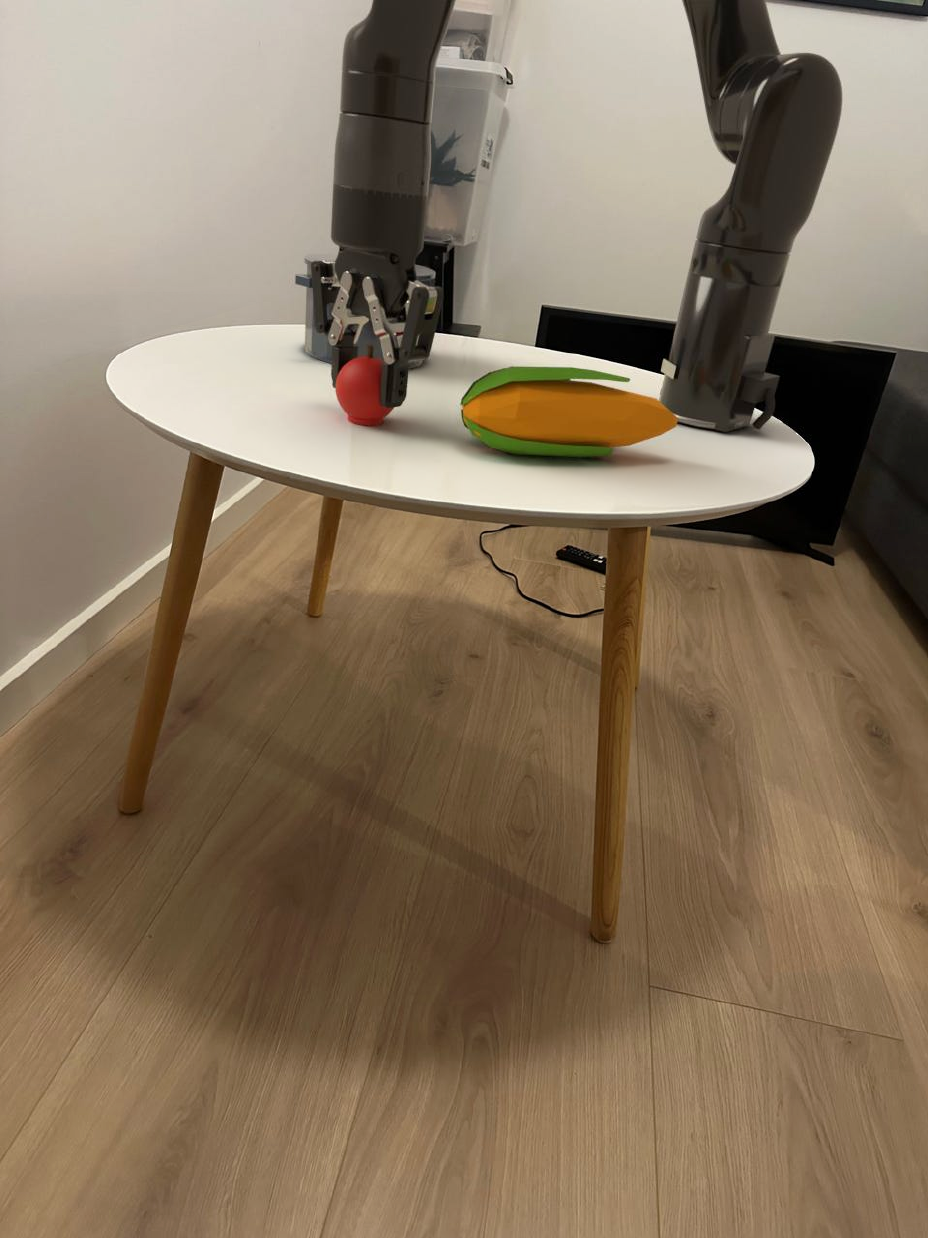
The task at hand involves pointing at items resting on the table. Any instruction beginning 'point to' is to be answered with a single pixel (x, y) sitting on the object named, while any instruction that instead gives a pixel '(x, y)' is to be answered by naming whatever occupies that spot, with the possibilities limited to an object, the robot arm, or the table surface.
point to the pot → (320, 344)
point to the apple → (362, 389)
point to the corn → (559, 412)
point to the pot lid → (421, 271)
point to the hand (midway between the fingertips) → (366, 396)
